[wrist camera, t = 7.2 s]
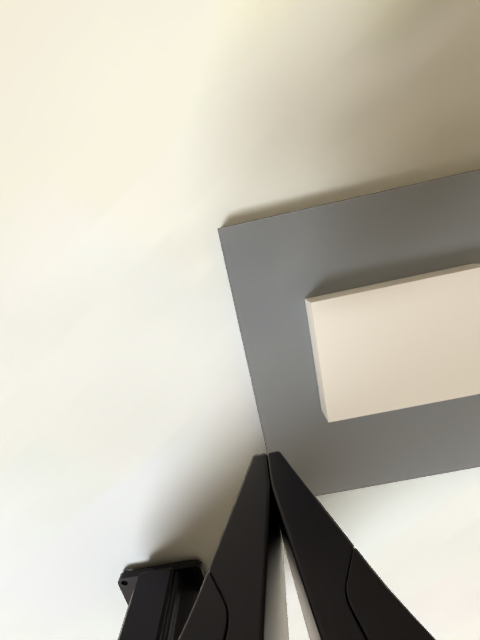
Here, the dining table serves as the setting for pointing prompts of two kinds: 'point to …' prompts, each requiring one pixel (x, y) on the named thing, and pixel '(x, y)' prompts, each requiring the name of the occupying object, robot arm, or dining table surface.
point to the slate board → (339, 275)
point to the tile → (397, 343)
